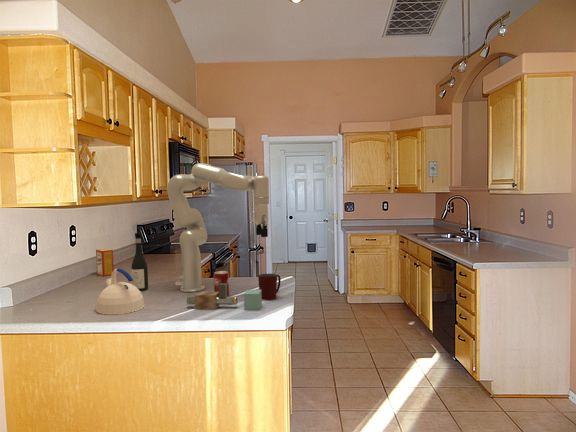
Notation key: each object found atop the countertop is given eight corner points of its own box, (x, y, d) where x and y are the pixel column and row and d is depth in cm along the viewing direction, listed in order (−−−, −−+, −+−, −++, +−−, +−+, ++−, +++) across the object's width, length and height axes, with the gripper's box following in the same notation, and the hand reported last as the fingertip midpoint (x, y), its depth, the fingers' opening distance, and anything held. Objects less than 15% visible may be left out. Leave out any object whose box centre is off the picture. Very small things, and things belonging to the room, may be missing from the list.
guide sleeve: (194, 309, 197) (194, 295, 197) (198, 305, 204) (198, 291, 203) (216, 309, 196) (215, 295, 196) (219, 305, 203) (219, 291, 202)
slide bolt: (186, 305, 199) (186, 285, 198) (189, 303, 202) (188, 283, 202) (236, 305, 197) (235, 284, 197) (237, 303, 201) (236, 283, 200)
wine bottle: (143, 291, 233) (140, 233, 231) (129, 291, 234) (126, 233, 232) (151, 288, 240) (148, 232, 238) (137, 287, 242) (135, 232, 240)
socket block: (244, 309, 195) (243, 293, 194) (247, 305, 203) (246, 289, 202) (259, 309, 194) (258, 293, 194) (261, 305, 202) (261, 289, 202)
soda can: (217, 299, 214) (216, 274, 213) (212, 296, 220) (211, 271, 219) (231, 297, 217) (230, 272, 216) (226, 294, 224) (225, 270, 223)
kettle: (128, 300, 216) (126, 263, 214) (153, 307, 202) (152, 267, 201) (87, 310, 200) (85, 269, 199) (111, 318, 187) (109, 274, 186)
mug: (274, 294, 222) (273, 271, 221) (286, 297, 216) (285, 274, 215) (254, 298, 214) (254, 275, 213) (266, 301, 208) (266, 278, 207)
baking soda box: (97, 274, 281) (95, 249, 280) (107, 273, 286) (106, 248, 285) (103, 276, 275) (102, 250, 274) (113, 275, 279) (112, 249, 278)
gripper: (249, 200, 228) (250, 234, 229) (258, 201, 212) (258, 238, 213) (264, 200, 230) (264, 233, 231) (273, 201, 214) (274, 237, 215)
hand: (261, 235), depth 222 cm, fingers open, 9 cm apart
